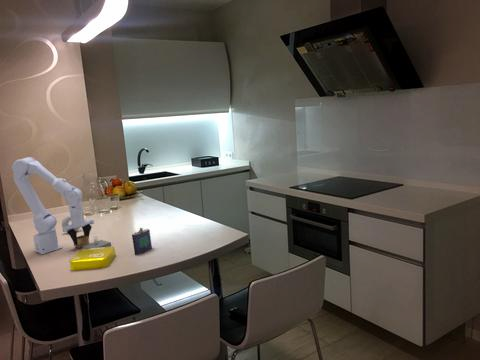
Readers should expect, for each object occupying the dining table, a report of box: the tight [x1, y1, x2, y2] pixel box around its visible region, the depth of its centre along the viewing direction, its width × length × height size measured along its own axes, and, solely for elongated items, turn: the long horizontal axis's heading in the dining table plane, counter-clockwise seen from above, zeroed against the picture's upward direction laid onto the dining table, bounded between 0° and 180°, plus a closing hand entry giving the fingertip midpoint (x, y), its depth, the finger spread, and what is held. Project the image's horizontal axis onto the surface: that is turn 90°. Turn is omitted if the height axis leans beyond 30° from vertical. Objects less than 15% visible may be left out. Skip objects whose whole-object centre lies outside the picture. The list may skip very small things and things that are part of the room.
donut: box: [61, 213, 80, 232], centre depth 217 cm, size 10×4×10 cm, turn 121°
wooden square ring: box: [73, 234, 90, 249], centre depth 191 cm, size 5×5×4 cm
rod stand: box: [81, 234, 112, 250], centre depth 188 cm, size 10×8×6 cm
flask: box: [131, 227, 153, 256], centre depth 178 cm, size 9×3×11 cm, turn 144°
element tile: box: [69, 245, 117, 272], centre depth 170 cm, size 15×15×5 cm
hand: (81, 242), depth 192 cm, fingers closed on wooden square ring, 5 cm apart
